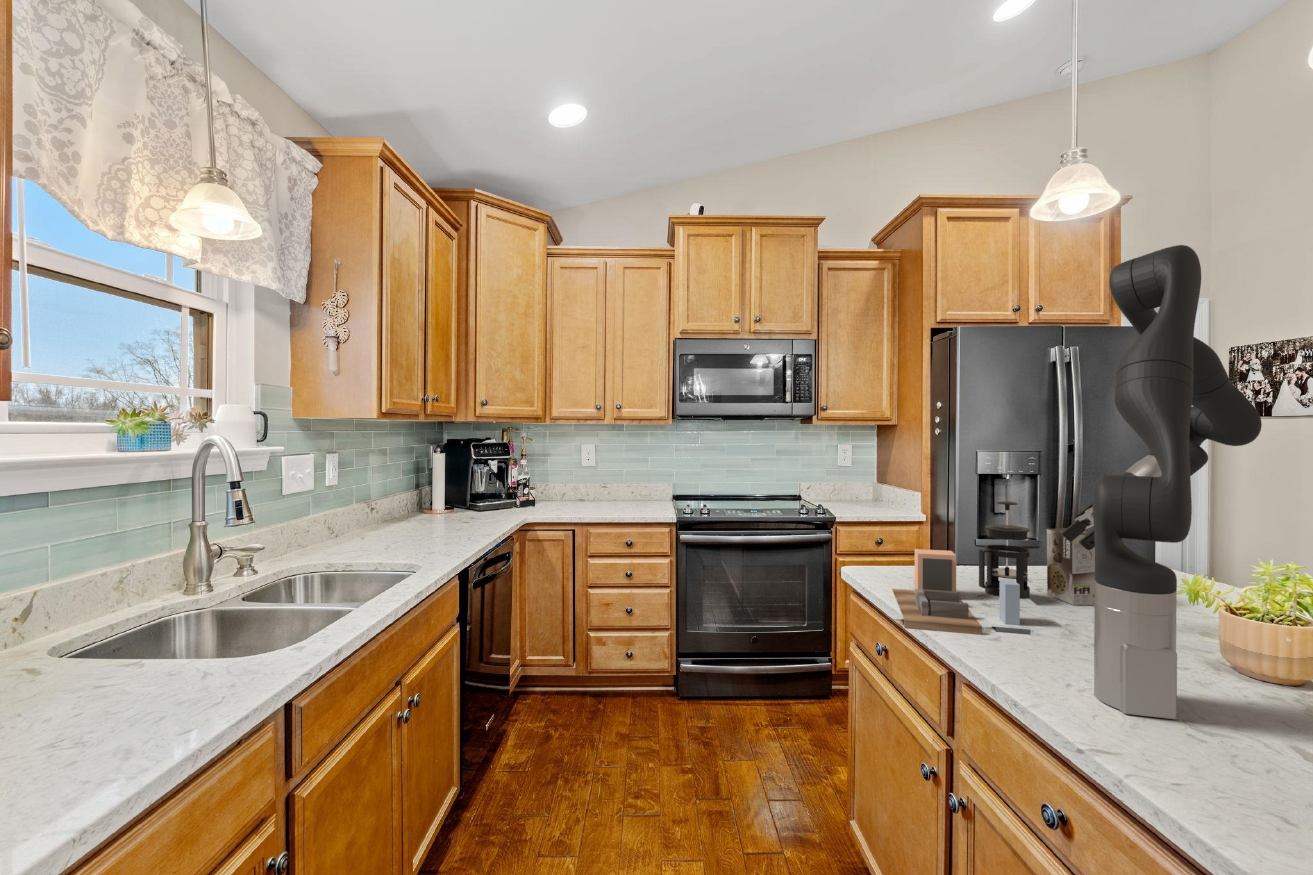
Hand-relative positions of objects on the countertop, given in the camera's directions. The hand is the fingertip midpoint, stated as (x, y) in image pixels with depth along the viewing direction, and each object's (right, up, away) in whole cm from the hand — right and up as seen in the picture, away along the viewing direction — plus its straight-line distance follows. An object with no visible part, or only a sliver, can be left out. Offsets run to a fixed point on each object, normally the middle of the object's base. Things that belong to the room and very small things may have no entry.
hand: (1074, 542), depth 112 cm
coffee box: (+16, -18, +22) cm, 33 cm away
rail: (-21, -18, +14) cm, 31 cm away
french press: (0, -18, +23) cm, 29 cm away
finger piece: (-11, -18, +3) cm, 21 cm away
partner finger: (-17, -16, +22) cm, 32 cm away
